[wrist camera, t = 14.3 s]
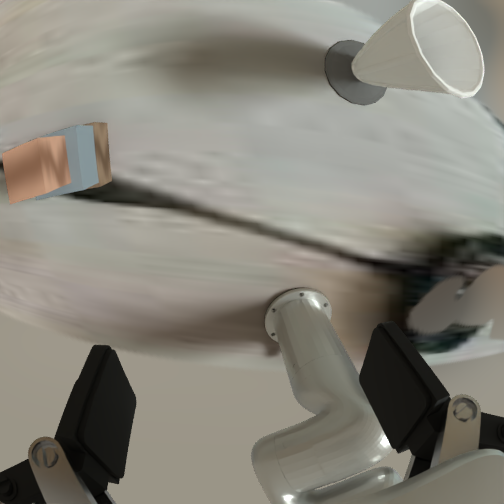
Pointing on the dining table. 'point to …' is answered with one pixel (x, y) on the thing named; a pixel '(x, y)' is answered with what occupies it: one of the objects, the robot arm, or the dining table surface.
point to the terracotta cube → (36, 168)
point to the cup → (409, 56)
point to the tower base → (101, 153)
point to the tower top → (77, 159)
